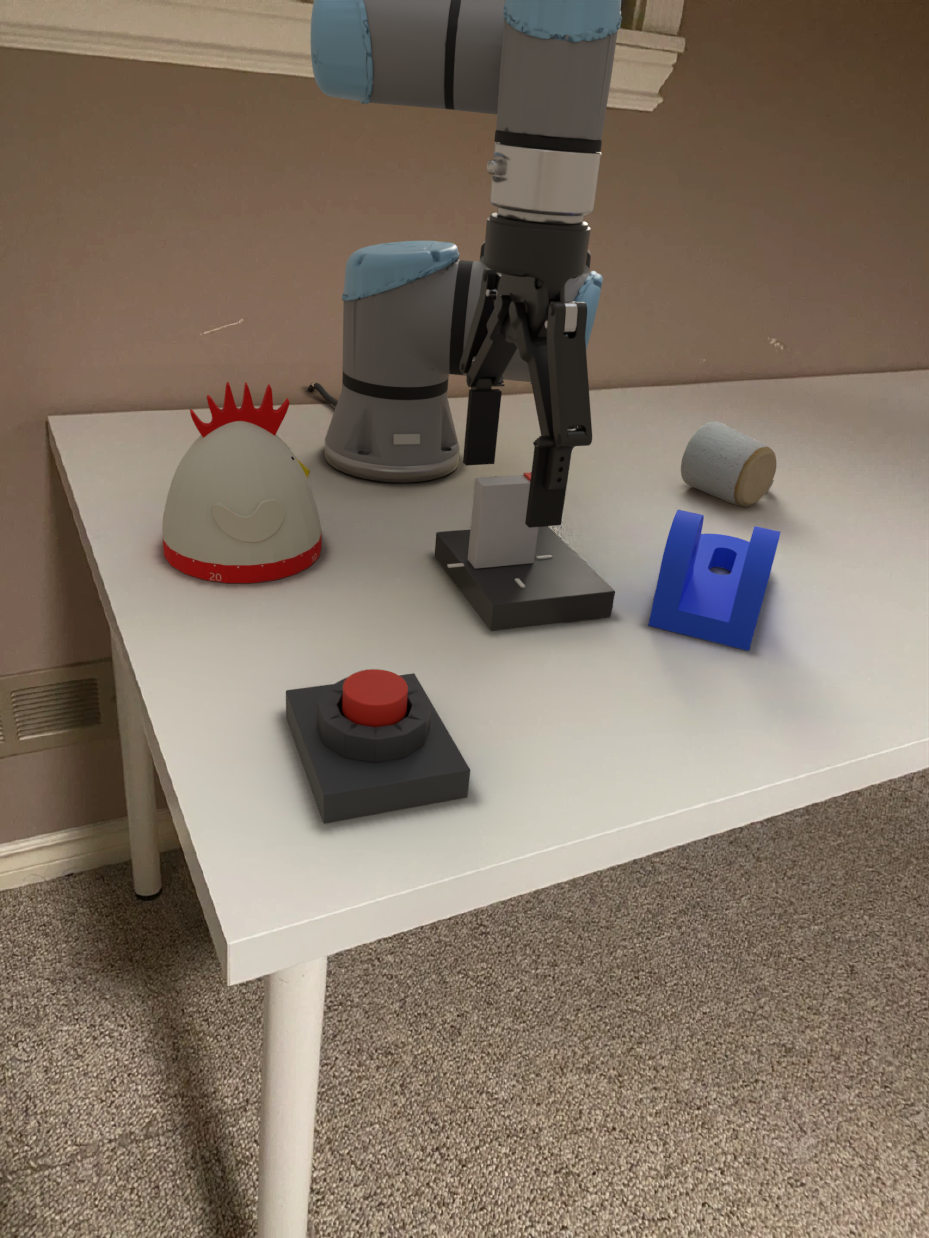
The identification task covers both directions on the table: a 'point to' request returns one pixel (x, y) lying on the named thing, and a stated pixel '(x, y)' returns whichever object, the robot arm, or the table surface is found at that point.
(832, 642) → the table surface
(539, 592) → the panel
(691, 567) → the bracket
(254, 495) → the kitchen timer
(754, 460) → the wooden log
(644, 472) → the table surface
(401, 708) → the stop button
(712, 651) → the table surface
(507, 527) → the grey upright block
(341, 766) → the stop housing
